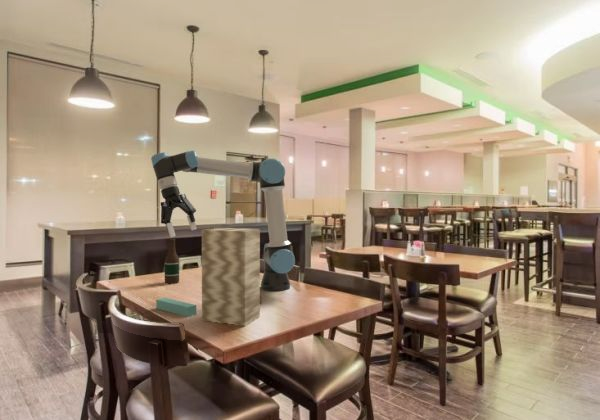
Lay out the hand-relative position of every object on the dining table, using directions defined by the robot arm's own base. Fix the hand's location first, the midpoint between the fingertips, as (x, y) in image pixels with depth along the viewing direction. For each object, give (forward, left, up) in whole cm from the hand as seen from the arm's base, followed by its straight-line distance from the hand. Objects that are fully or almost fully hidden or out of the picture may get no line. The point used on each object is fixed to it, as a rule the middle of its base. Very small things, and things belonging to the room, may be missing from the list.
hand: (183, 233), depth 171 cm
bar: (0, +16, -30) cm, 34 cm away
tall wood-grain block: (-22, +28, -30) cm, 47 cm away
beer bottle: (+13, -40, -30) cm, 51 cm away
